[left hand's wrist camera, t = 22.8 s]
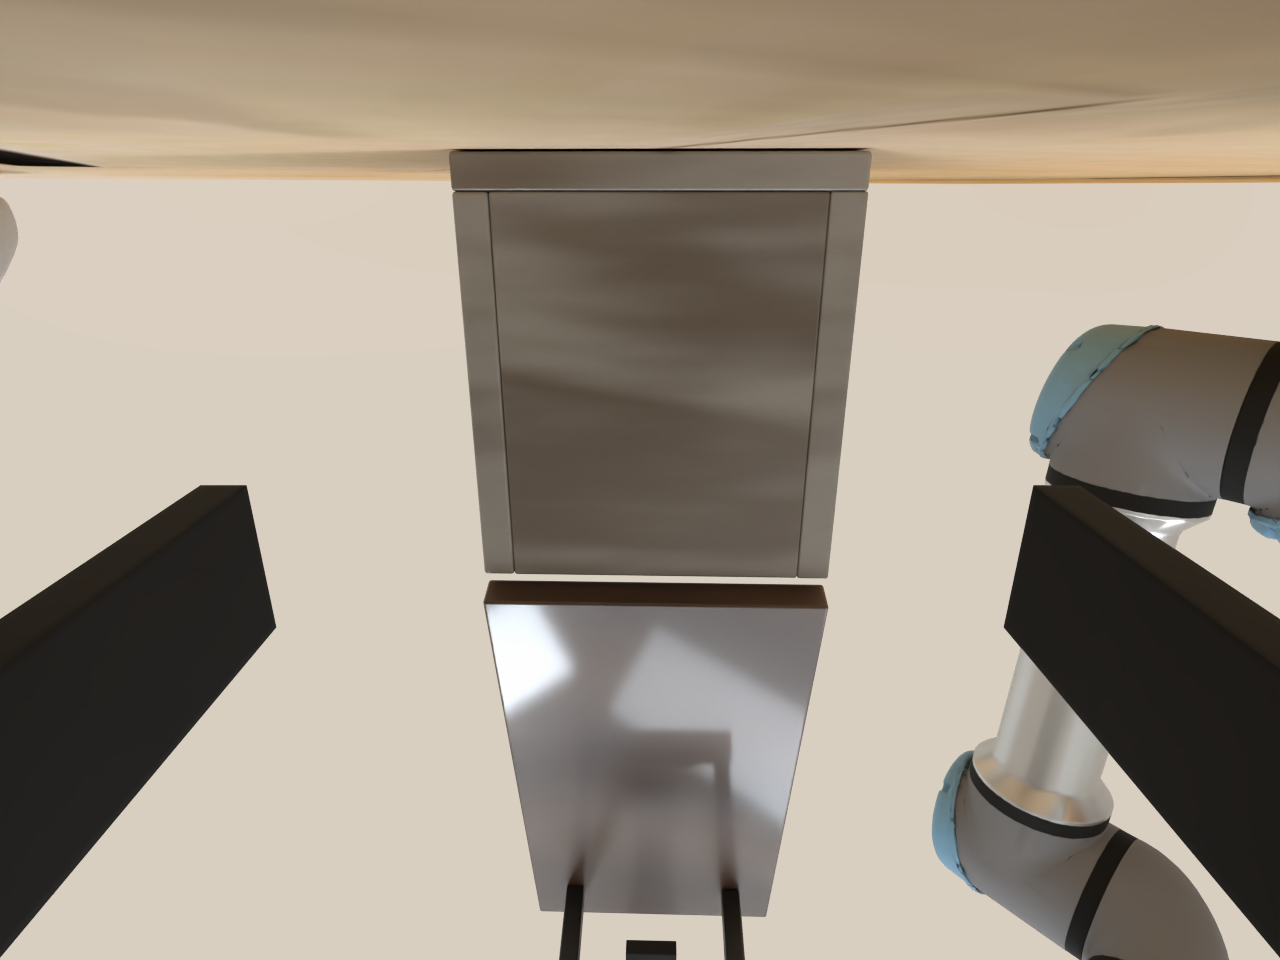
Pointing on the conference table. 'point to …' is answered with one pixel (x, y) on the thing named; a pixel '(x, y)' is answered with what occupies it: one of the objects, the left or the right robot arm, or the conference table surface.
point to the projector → (7, 236)
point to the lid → (654, 740)
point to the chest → (658, 355)
